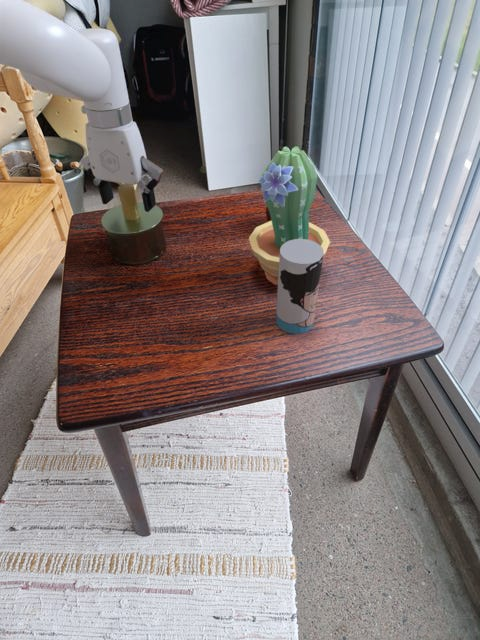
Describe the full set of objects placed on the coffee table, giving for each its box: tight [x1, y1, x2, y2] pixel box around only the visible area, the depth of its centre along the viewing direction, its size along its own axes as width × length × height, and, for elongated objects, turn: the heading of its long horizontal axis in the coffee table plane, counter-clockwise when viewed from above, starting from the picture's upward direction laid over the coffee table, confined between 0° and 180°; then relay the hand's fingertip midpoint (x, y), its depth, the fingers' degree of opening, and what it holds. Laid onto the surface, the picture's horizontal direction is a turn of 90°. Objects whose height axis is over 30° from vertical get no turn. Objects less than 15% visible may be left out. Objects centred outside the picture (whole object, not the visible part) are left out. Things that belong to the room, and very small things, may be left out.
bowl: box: [105, 220, 167, 266], centre depth 90 cm, size 12×12×8 cm
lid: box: [100, 183, 164, 235], centre depth 85 cm, size 13×13×8 cm
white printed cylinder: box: [275, 239, 324, 335], centre depth 70 cm, size 7×7×15 cm
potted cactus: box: [248, 145, 331, 286], centre depth 77 cm, size 15×15×25 cm
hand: (129, 204), depth 85 cm, fingers open, 9 cm apart
